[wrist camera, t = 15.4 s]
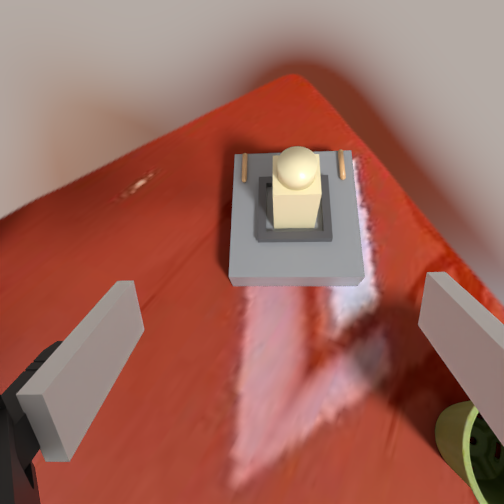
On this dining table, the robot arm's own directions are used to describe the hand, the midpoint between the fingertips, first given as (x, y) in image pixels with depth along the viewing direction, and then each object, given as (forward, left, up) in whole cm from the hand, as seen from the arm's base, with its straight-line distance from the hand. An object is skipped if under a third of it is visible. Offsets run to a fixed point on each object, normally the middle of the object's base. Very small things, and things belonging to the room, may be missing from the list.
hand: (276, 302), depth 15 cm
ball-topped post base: (+2, +17, -27) cm, 32 cm away
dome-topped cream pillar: (+2, +17, -23) cm, 28 cm away
